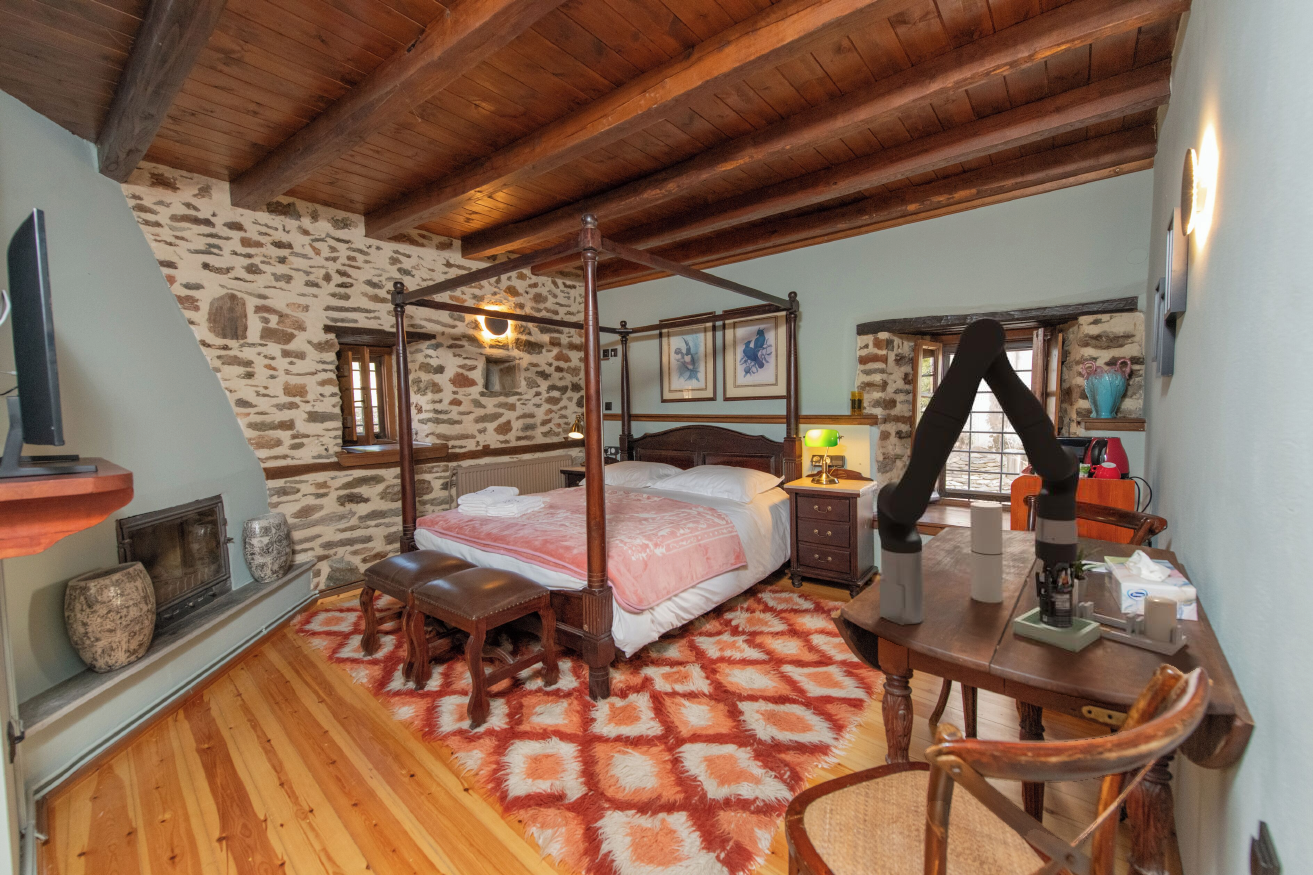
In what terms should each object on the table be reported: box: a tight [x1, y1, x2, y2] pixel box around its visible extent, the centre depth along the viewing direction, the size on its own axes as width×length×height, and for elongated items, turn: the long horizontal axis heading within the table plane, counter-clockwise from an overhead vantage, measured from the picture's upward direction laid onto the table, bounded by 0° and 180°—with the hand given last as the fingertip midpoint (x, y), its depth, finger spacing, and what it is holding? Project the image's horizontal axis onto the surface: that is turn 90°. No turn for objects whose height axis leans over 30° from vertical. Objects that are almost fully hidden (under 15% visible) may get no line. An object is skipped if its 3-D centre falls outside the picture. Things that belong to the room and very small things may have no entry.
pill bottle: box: [1038, 575, 1073, 628], centre depth 119 cm, size 6×6×11 cm
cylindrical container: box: [969, 501, 1004, 604], centre depth 141 cm, size 7×7×25 cm
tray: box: [1012, 606, 1101, 653], centre depth 119 cm, size 12×12×3 cm
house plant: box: [1038, 544, 1103, 604], centre depth 138 cm, size 14×14×16 cm
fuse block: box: [1073, 579, 1187, 656], centre depth 119 cm, size 9×23×10 cm, turn 32°
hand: (1055, 612), depth 119 cm, fingers closed on pill bottle, 6 cm apart
